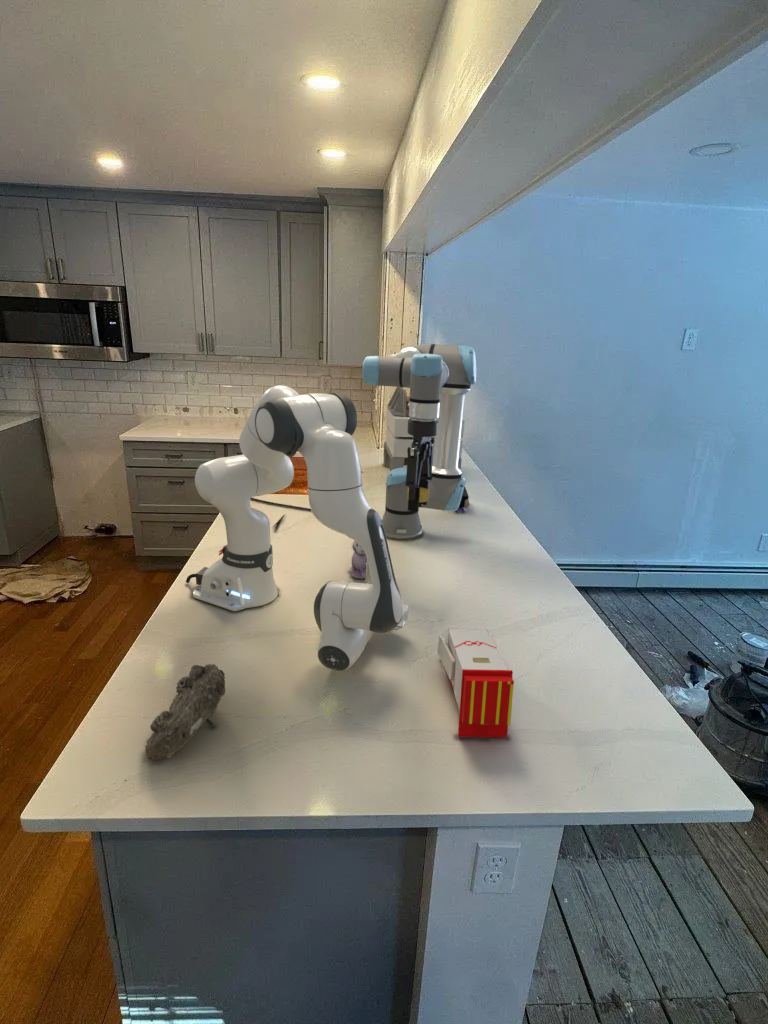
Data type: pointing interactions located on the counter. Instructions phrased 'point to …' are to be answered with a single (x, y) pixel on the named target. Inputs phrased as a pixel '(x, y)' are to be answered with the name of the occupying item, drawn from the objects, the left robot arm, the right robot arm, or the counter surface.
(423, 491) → the lid
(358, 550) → the figurine
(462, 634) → the toy
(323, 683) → the counter surface
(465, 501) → the figurine character
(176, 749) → the fossil
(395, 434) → the slatted wooden crate
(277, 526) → the feather
